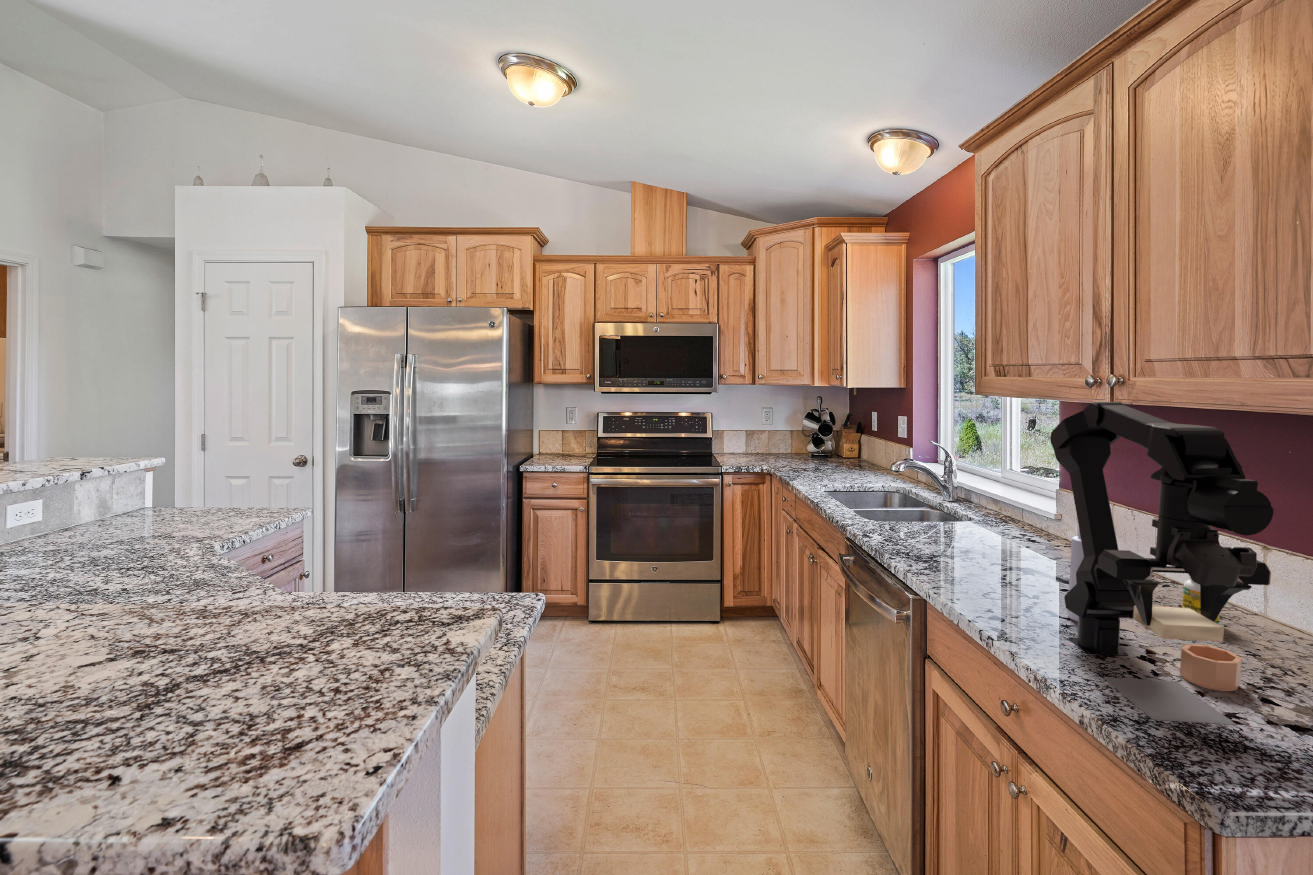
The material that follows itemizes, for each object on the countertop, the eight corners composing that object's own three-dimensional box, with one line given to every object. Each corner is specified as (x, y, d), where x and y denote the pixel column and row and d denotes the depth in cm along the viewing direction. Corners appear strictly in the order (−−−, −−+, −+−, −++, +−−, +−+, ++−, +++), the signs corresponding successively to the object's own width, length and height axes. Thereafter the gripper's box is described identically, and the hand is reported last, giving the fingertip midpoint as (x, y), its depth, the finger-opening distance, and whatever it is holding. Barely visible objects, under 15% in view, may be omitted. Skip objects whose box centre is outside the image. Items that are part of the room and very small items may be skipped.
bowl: (1171, 673, 100) (1173, 643, 99) (1217, 675, 99) (1219, 645, 99) (1199, 693, 94) (1202, 661, 93) (1249, 695, 93) (1251, 663, 92)
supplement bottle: (1227, 627, 117) (1231, 575, 116) (1200, 628, 117) (1204, 577, 116) (1198, 616, 123) (1202, 567, 122) (1173, 617, 122) (1177, 568, 121)
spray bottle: (1062, 619, 122) (1068, 504, 120) (1073, 611, 126) (1079, 500, 124) (1100, 628, 117) (1107, 509, 115) (1109, 619, 121) (1116, 505, 119)
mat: (1103, 680, 97) (1103, 677, 97) (1176, 684, 96) (1176, 681, 96) (1152, 723, 86) (1152, 719, 86) (1236, 728, 84) (1236, 724, 84)
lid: (1133, 618, 95) (1134, 605, 94) (1187, 621, 94) (1188, 607, 93) (1163, 638, 88) (1164, 624, 87) (1222, 641, 86) (1224, 627, 86)
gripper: (1144, 529, 83) (1136, 646, 84) (1310, 533, 80) (1299, 654, 81) (1099, 510, 93) (1092, 614, 95) (1244, 514, 91) (1234, 621, 92)
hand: (1176, 625), depth 91 cm, fingers closed on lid, 7 cm apart
